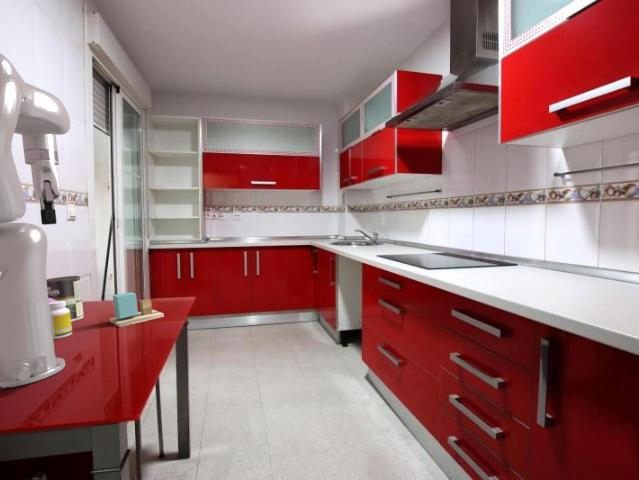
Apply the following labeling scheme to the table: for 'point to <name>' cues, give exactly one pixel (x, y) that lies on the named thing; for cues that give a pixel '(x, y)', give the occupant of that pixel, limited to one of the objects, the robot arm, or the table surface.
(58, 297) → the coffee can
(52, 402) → the table surface
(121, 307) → the pale teal cube
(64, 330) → the supplement bottle
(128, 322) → the post stand
